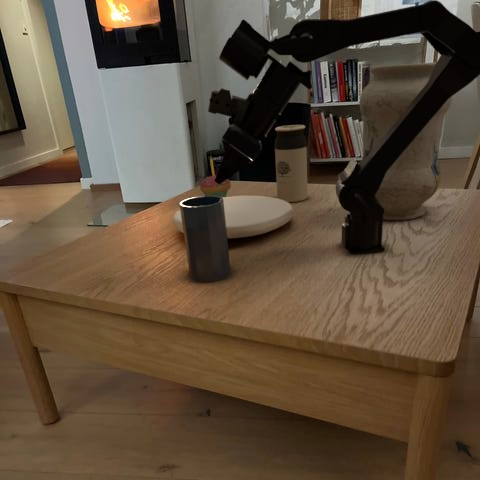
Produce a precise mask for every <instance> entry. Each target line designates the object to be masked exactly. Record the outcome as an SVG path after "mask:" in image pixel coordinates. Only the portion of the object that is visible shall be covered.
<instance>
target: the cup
mask: <svg viewBox="0 0 480 480" xmlns="http://www.w3.org/2000/svg"><path fill="white" fill-rule="evenodd" d="M179 210H180V211H181V218H182V225H183V232H184V233H183V236H184V237H183V238H184V245H185V251H186V258H187V265H188V266H187V267H188V272H189V277H190V280H192V281H194V282H199V283H214V282H218V281H221V280H224V279H226V278H228V277H229V276H230V275H231V263H230V252H229V244H228V238H227V232H226V222H225V212H224V202H223V198H221V197H218V196H205V195H200V196H194V197H190V198H186V199H184V200H182V201H180V202H179Z"/></svg>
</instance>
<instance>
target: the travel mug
mask: <svg viewBox="0 0 480 480" xmlns="http://www.w3.org/2000/svg"><path fill="white" fill-rule="evenodd" d="M305 128H306V125H304V124H292V125H291V124H290V125H281V126H277V127H275V128H274V130H275V131H276V138H275V141H274V155H275V156H274V157H275V158H274V159H275V176H276V177H275V178H276V179H275V180H276V194H277V195H276V198H277V199H281V200H284V201H286V202H288V203H299V202H302V201H305V200H306V199H307V198H308V154H307V153H308V152H307V151H308V149H307V148H308V147H307V146H308V145H307V143H308V142H307V137H306V136H305V134H304V133H305Z"/></svg>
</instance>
